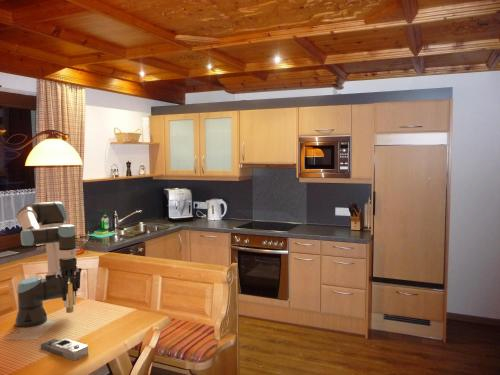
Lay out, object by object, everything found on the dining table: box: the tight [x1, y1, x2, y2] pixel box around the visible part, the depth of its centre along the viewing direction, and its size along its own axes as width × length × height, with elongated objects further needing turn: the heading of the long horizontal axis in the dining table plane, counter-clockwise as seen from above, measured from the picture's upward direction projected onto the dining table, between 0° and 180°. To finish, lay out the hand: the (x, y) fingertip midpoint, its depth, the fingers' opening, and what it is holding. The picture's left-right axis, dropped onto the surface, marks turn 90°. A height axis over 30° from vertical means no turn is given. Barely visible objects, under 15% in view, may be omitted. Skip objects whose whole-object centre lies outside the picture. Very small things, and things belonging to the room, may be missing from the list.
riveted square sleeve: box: [40, 337, 89, 362], centre depth 189 cm, size 24×7×5 cm, turn 60°
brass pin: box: [65, 282, 74, 314], centre depth 199 cm, size 3×3×14 cm
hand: (69, 305), depth 199 cm, fingers closed on brass pin, 3 cm apart
